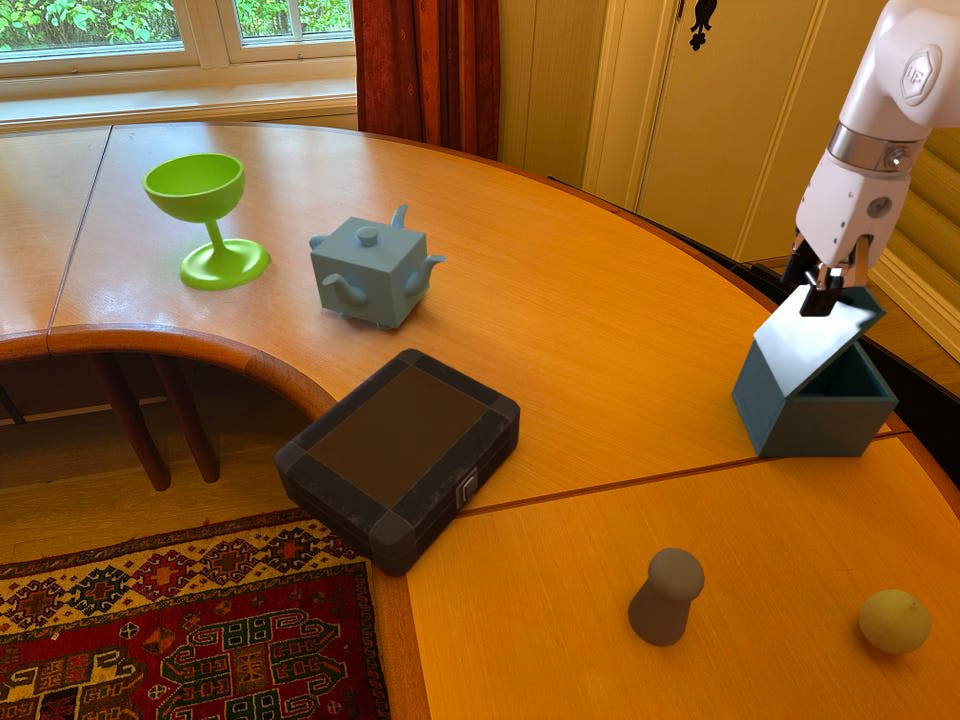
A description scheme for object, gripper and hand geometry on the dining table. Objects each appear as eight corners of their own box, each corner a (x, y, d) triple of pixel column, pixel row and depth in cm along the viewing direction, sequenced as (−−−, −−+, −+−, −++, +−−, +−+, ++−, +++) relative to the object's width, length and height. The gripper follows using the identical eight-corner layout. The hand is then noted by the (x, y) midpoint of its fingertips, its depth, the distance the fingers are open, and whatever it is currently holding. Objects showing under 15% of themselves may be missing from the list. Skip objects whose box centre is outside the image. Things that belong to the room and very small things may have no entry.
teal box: (823, 393, 88) (855, 337, 81) (860, 457, 80) (899, 401, 72) (730, 393, 88) (754, 337, 81) (757, 457, 80) (786, 401, 72)
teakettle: (314, 289, 107) (296, 214, 97) (415, 265, 112) (408, 192, 102) (339, 356, 94) (321, 278, 84) (451, 325, 99) (448, 249, 89)
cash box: (402, 587, 67) (395, 552, 61) (280, 495, 75) (265, 456, 70) (527, 444, 81) (530, 405, 76) (412, 380, 90) (408, 342, 85)
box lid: (839, 251, 71) (803, 236, 70) (887, 312, 63) (848, 297, 62) (757, 336, 81) (724, 324, 79) (790, 400, 72) (753, 388, 71)
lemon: (891, 678, 60) (933, 645, 54) (837, 635, 63) (871, 600, 57) (914, 640, 63) (956, 606, 57) (860, 601, 66) (895, 564, 60)
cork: (616, 602, 65) (634, 550, 58) (663, 581, 67) (686, 528, 60) (649, 656, 61) (672, 608, 54) (697, 632, 63) (727, 582, 56)
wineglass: (202, 239, 119) (170, 150, 106) (281, 243, 117) (258, 154, 105) (163, 287, 107) (121, 194, 95) (250, 293, 106) (220, 199, 93)
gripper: (967, 188, 50) (870, 349, 63) (871, 109, 63) (806, 257, 75) (876, 188, 50) (798, 349, 63) (799, 109, 63) (746, 257, 75)
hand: (803, 297), depth 69 cm, fingers closed on box lid, 5 cm apart
